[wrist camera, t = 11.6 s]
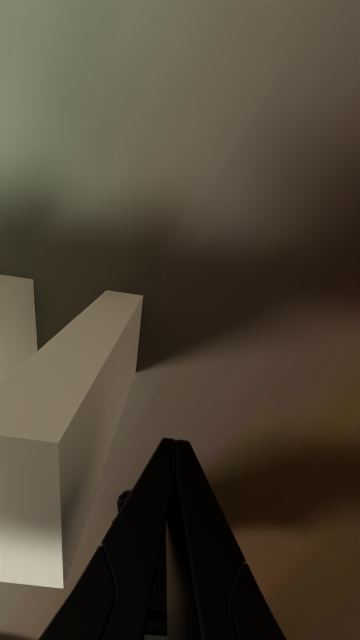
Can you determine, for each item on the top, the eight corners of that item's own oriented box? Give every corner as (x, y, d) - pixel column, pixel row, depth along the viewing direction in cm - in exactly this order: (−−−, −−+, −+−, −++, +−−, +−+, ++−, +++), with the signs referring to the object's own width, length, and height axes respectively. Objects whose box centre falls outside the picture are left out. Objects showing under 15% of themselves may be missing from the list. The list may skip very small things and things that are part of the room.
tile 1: (143, 295, 14) (58, 442, 5) (135, 372, 16) (63, 588, 7) (106, 290, 14) (-51, 428, 5) (103, 368, 16) (-16, 579, 7)
